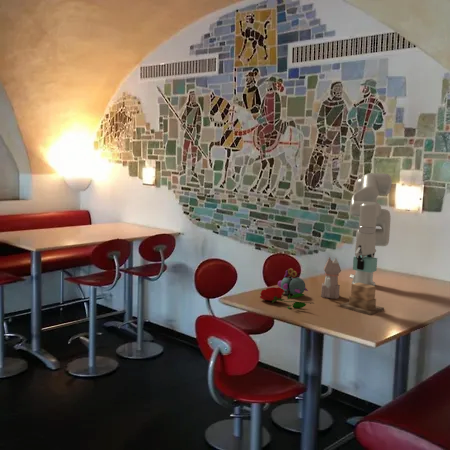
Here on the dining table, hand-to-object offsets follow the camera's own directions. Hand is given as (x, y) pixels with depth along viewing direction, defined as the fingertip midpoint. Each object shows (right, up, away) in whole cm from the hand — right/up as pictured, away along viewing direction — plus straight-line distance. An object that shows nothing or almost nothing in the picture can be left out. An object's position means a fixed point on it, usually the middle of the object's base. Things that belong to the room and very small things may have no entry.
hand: (364, 268), depth 258 cm
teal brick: (0, -1, 0) cm, 1 cm away
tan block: (0, -14, +2) cm, 14 cm away
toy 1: (-31, -16, +24) cm, 42 cm away
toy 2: (-13, -17, +20) cm, 29 cm away
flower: (-36, -19, +4) cm, 40 cm away
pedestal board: (-1, -19, +3) cm, 19 cm away
